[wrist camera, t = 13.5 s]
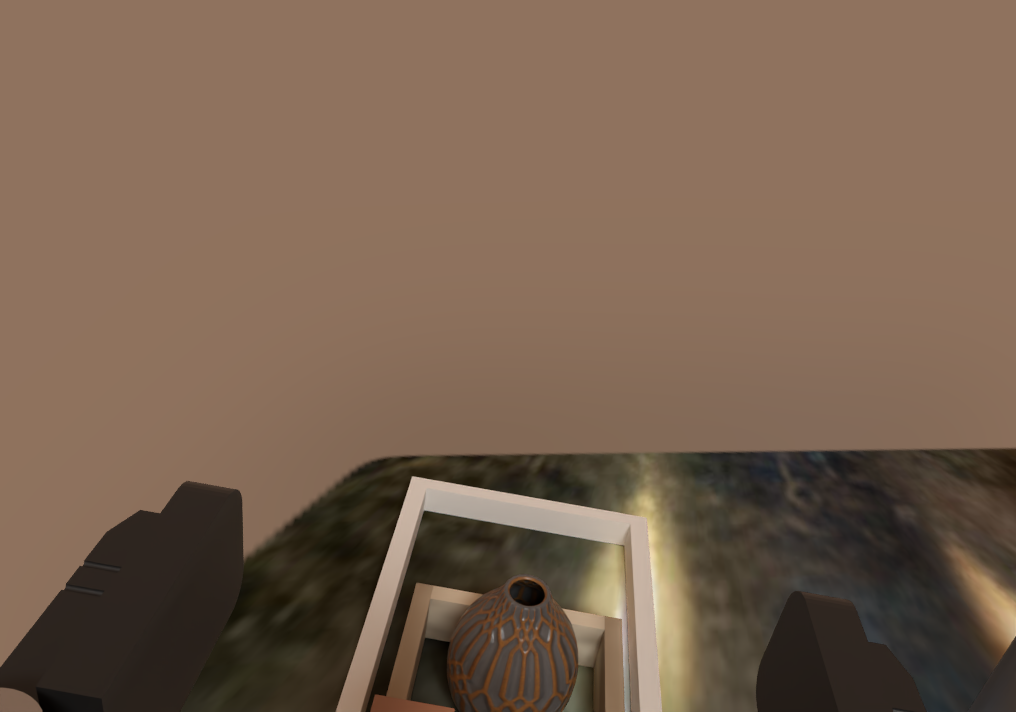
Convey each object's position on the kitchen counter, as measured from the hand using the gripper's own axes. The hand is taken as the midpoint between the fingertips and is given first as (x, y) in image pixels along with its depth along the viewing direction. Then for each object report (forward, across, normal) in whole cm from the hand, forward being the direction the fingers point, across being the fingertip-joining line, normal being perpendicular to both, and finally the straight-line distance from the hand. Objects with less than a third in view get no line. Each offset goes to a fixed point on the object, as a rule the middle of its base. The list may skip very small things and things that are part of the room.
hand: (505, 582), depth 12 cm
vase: (+21, -2, +30) cm, 37 cm away
